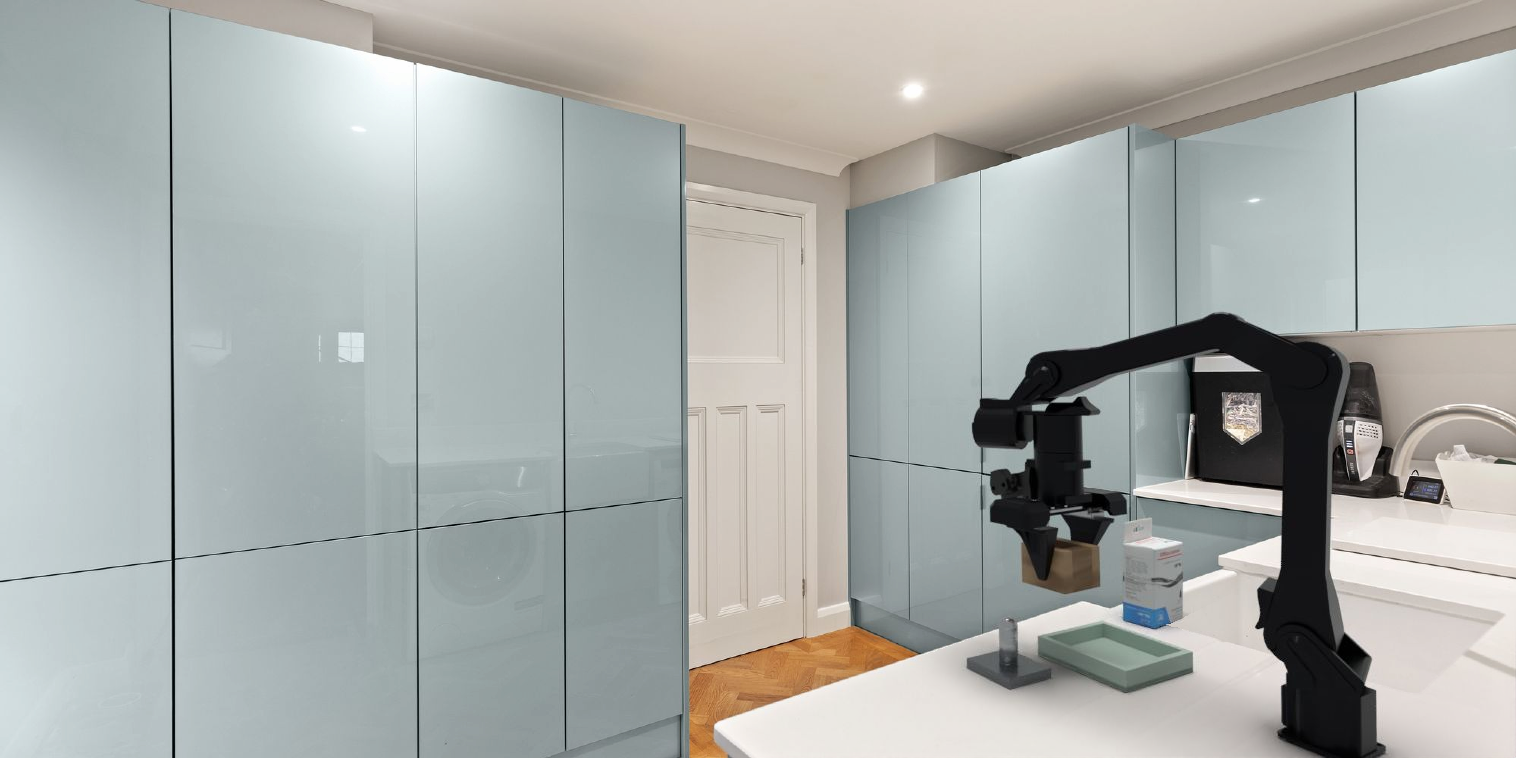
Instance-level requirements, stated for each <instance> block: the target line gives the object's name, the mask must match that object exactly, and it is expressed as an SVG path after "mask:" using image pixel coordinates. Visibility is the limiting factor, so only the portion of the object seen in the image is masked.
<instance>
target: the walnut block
mask: <svg viewBox="0 0 1516 758" xmlns="http://www.w3.org/2000/svg"><path fill="white" fill-rule="evenodd" d="M1020 547H1021V548H1020V549H1021V550H1020V553H1021V582H1022V583H1025V584H1027V585H1031V586H1035V587H1039V588H1041V589H1045V590H1048V591H1052V592H1055V593H1059V594H1061V595H1069V594H1073V593H1079V592H1082V591H1086V590H1087V591H1088V590H1092V589H1097V588H1100V587H1101V562H1100V558H1101V557H1100V556H1101V555H1100V546H1099V545H1098V546H1097V545H1092V544H1087V543H1082V542H1078V541H1073V540H1071V539H1067V538H1063V537H1059V536H1057V539H1056V543H1055V548H1054V553H1053V558H1052V563H1051V568H1050V572H1049V575H1048V578H1047V580H1046V581H1043V580H1039V579H1038V578H1037V575H1036V572H1035V570H1034V567H1033V564H1032V562H1031V559H1030V557H1029V554H1028V551H1027V549H1026V547H1025V544H1024V542H1023V541H1022V542H1021V543H1020Z"/></svg>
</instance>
